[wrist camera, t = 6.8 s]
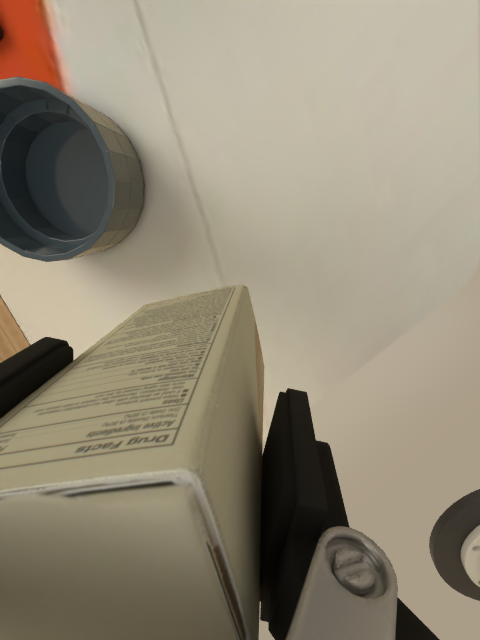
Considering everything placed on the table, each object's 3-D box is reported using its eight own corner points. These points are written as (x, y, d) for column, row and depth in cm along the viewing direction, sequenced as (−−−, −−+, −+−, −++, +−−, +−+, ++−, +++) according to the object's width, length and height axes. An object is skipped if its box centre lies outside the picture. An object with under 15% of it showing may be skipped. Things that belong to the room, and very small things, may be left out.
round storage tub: (152, 120, 27) (120, 97, 21) (139, 263, 31) (109, 275, 25) (12, 91, 27) (-57, 60, 21) (17, 236, 31) (-39, 243, 25)
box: (168, 382, 16) (-17, 688, 6) (142, 301, 15) (-151, 514, 5) (271, 367, 16) (264, 692, 5) (253, 280, 14) (195, 481, 4)
